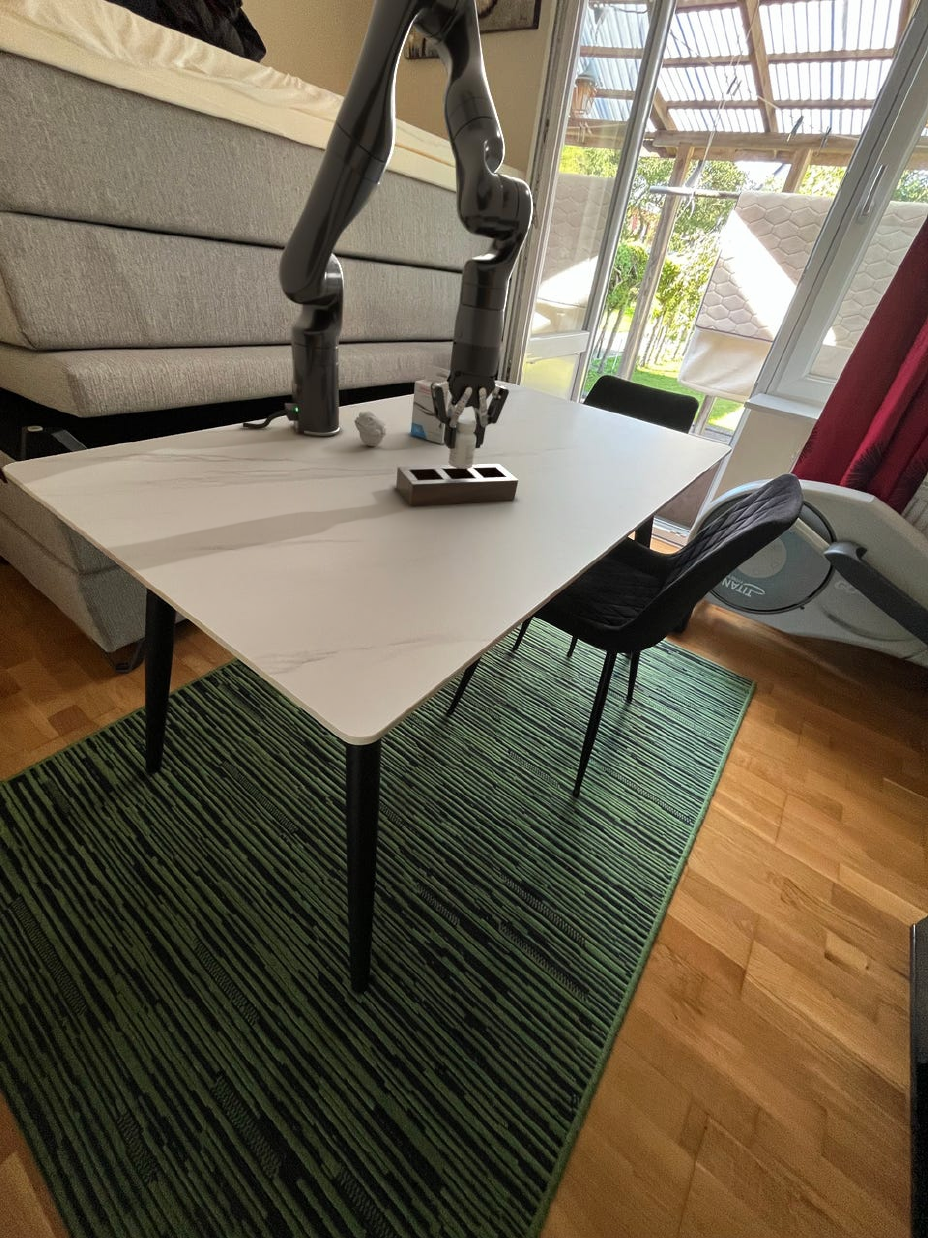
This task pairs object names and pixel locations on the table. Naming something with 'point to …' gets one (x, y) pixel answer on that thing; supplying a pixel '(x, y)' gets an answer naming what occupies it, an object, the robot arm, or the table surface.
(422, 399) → the ink box
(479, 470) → the holder
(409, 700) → the table surface
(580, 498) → the table surface
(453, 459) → the pill bottle
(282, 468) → the table surface
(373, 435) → the white lumpy lump
